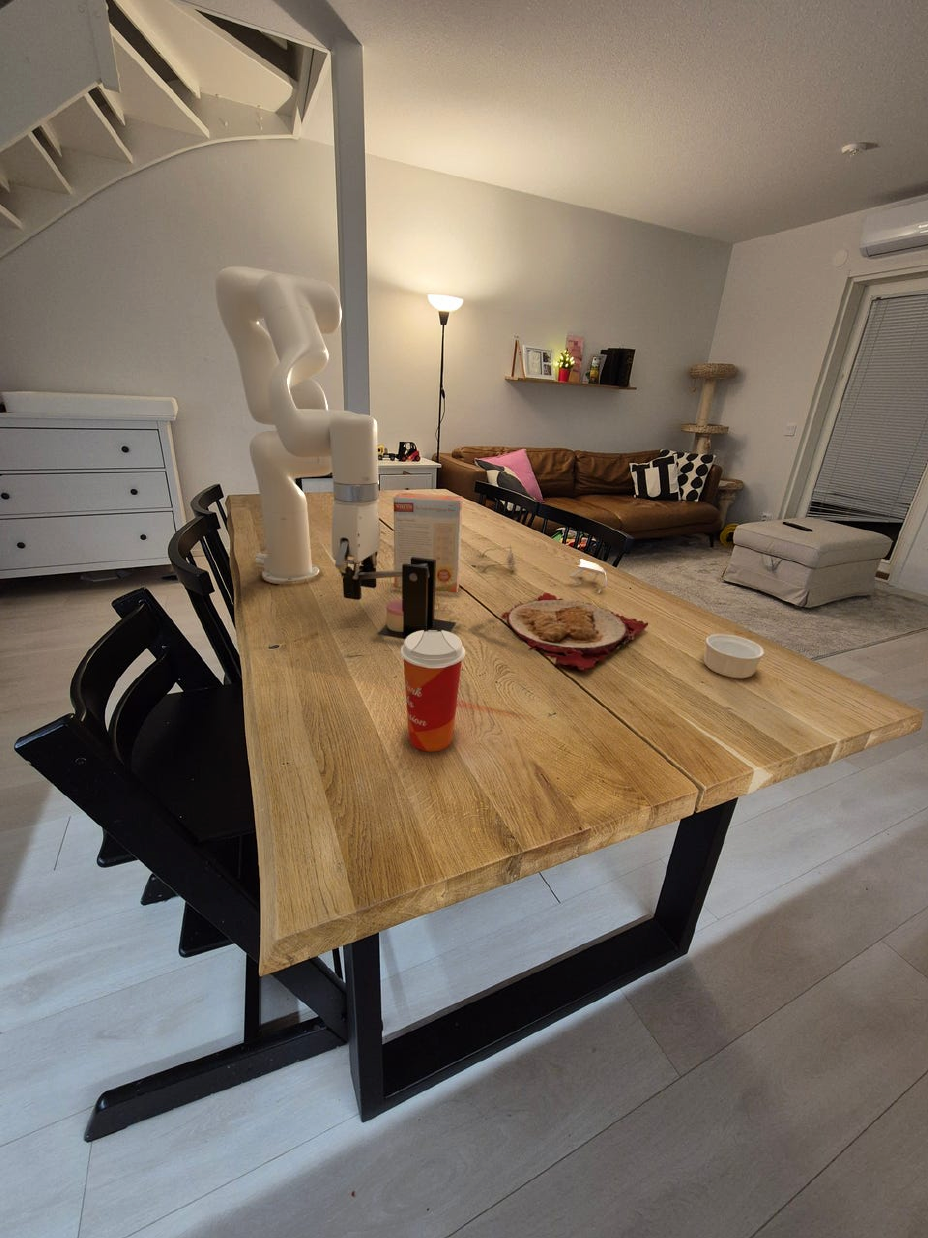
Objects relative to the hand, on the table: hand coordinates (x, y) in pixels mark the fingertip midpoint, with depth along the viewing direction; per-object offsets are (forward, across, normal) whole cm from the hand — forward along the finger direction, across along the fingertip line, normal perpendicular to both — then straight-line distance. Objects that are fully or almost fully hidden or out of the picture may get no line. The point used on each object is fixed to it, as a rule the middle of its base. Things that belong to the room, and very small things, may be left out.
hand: (360, 591), depth 92 cm
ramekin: (+7, -7, +65) cm, 66 cm away
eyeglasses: (+7, -46, +16) cm, 49 cm away
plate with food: (+7, -11, +36) cm, 39 cm away
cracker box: (+7, -22, +5) cm, 24 cm away
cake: (+6, 0, +8) cm, 10 cm away
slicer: (+7, 0, +11) cm, 13 cm away
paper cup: (+7, +28, +23) cm, 37 cm away
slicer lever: (-3, 0, +6) cm, 7 cm away
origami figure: (+7, -39, +40) cm, 57 cm away
